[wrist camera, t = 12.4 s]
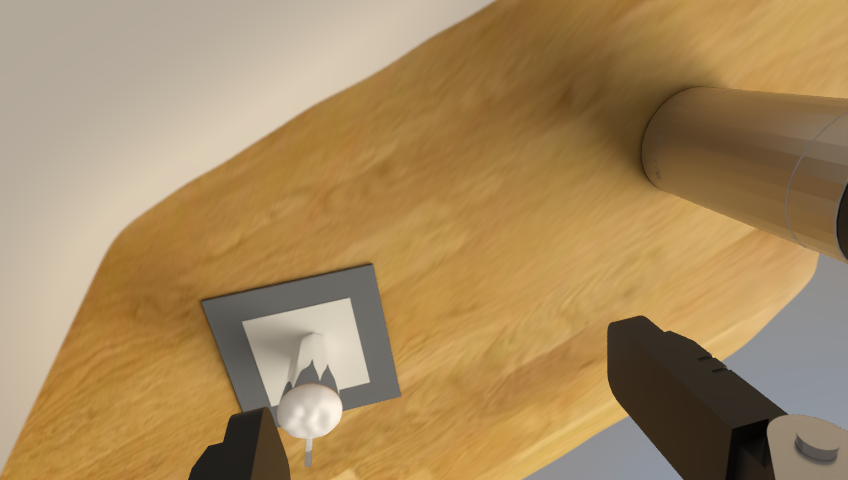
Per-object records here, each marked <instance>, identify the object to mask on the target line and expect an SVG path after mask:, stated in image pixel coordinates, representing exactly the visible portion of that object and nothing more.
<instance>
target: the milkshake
mask: <svg viewBox="0 0 848 480" xmlns="http://www.w3.org/2000/svg"><path fill="white" fill-rule="evenodd" d="M341 415H342V402H341V397H340V392H339V387H338V382H337V376H336V369H335V362H334V355H333V349H332V344H331V343H330V342H329V340H328V339H327V338H326V336H323V335H320V334H316V333H312V334H308V335H304V336H302V337H301V338H300V339H299V340H298V341H297V342H296V344H295V345H294V349H293V353H292V357H291V361H290V366H289V370H288V374H287V378H286V382H285V385H284V389H283V392H282V395H281V399H280V402H279V405H278V409H277V419H278V423H279V425H280V426H281V427H282V428H283V429H284V430H285V431H286V432H287V433H288V434H289V435H291V436H293V437H297V438H305V439H306V446H305V467H311V464H312V439H313V438H316V437H321V436H324V435H326V434H327V433H329V432H330V431H331V430H332V429H333V428H334V427H335V426H336V425H337V424H338V422H339V421H340V418H341Z"/></svg>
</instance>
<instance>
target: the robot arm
mask: <svg viewBox="0 0 848 480" xmlns="http://www.w3.org/2000/svg"><path fill="white" fill-rule="evenodd" d="M641 153H642V164H643V167H644V170H645V173H646V175H647V176H648V178H649V180H650V181H651V182H652V183H653V184H654V185H655V186H656V187H658V188H660V189H662V190H663V191H666V192H668V193H671V194H673V195H676V196H678V197H681V198H683V199H686V200H688V201H691V202H693V203H695V204H697V205H700V206H703V207H705V208H708V209H710V210H713V211H715V212H718V213H720V214H723V215H725V216H728V217H730V218H733V219H735V220H738V221H740V222H743V223H745V224H748V225H750V226H753V227H755V228H758V229H760V230H763V231H765V232H768V233H770V234H773V235H775V236H778V237H780V238H783V239H785V240H788V241H791V242H793V243H796V244H798V245H801V246H803V247H806V248H808V249H811V250H813V251H816V252H819V253H821V254H824V255H826V256H829V257H832V258H834V259H836V260H839V261H841V262H844V263H846V264H848V99H844V98H832V97H820V96H808V95H796V94H784V93H772V92H760V91H748V90H738V89H724V88H711V87H695V88H689V89H686V90H684V91H682V92H679V93H677V94H676V95H674V96H673V97H671V98H670V99H668V100H667V101H666V102H665V103H664V104H663V105H662V106H661V107H660V108H659V109H658V111H657V112H656V113H655V115H654V116H653V117H652V119H651V121H650V123H649V125H648V127H647V129H646V132H645V135H644V138H643V143H642V151H641ZM607 374H608V381H609V385H610V388H611V390H612V393H613V395H614V396H615V398H616V400H617V401H618V402H619V404H620V405H621V406H622V407H623V408H624V410H625V411H626V412H627V413H628V414H629V415H630V416H631V418H632V419H633V420H634V421H635V423H636V424H637V425H638V426H639V427H640V428H641V430H642V431H643V432H644V433H645V435H646V436H647V437H648V438H649V439H650V440H651V442H652V443H653V444H654V445H655V446H656V448H657V449H658V450H659V451H660V452H661V454H662V455H663V456H664V457H665V458H666V459H667V461H668V462H669V463H670V464H671V465H672V467H673V468H674V469H675V470H676V471H677V473H678V474H679V475H680V476H681V477H682V478H683V480H848V431H846V430H844V429H843V428H841V427H839V426H837V425H835V424H833V423H830V422H828V421H825V420H822V419H819V418H816V417H811V416H806V415H788V414H787V413H786V412H784V411H783V410H782V409H781V408H779V407H778V406H777V405H776V404H774V403H773V402H771V401H770V400H769V399H768V398H766V397H765V396H764V395H763V394H761V393H760V392H759V391H758V390H756V389H755V388H754V387H752V386H751V385H750V384H749V383H747V382H746V381H745V380H743V379H742V378H741V377H739V376H738V375H737V374H736V373H734V372H733V371H732V370H728V369H727V366H725V365H724V364H723V363H722V362H720V361H719V360H718V359H716V358H713V357H712V355H711V354H710V353H709V352H707V351H706V350H705V349H704V348H702V347H701V346H700V345H698V344H697V343H696V342H694V341H693V340H691V339H688V338H686V337H684V336H681V335H679V334H677V333H674V332H672V331H667V332H663V331H662V330H661V329H660V328H659V327H657V326H656V325H655V324H654V323H653V322H651V321H650V320H649V319H648V318H646V317H644V316H636V317H632V318H628V319H624V320H620V321H616V322H612V323H610V324H609V326H608V332H607ZM188 480H291V479H290V469H289V464H288V459H287V456H286V453H285V450H284V447H283V444H282V442H281V439H280V436H279V433H278V430H277V427H276V425H275V422H274V419H273V416H272V413H271V411H270V409H269V408H268V407H262V408H258V409H254V410H250V411H246V412H242V413H238V414H234V415H232V416H231V417H230V419H229V422H228V426H227V429H226V433H225V437H224V441H223V442H222V443H218V444H214V445H211V446H208V447H207V449H206V450H205V451H204V453H203V454H202V455H201V457H200V458H199V460H198V461H197V462H196V464H195V465H194V466H193V468H192V470H191V473H190V476H189V479H188Z"/></svg>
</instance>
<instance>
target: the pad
mask: <svg viewBox="0 0 848 480" xmlns="http://www.w3.org/2000/svg"><path fill="white" fill-rule="evenodd" d="M201 303H202V305H203V308H204V311H205V313H206V316H207V319H208V321H209V324H210V326H211V329H212V332H213V334H214V337H215V340H216V342H217V345H218V348H219V350H220V353H221V355H222V358H223V361H224V363H225V366H226V369H227V371H228V374H229V376H230V379H231V382H232V384H233V387H234V390H235V392H236V395H237V398H238V400H239V403H240V405H241V408H242V411H243V412H246V411H250V410H254V409H258V408H262V407H268V408H269V409H270V411H271V413H272V416H273V419H274V422H275V425H276V427H281V426H280V425H279V423H278V419H277V409H278V405H279V402H280V399H281V395H282V392H283V389H284V385H285V382H286V378H287V374H288V370H289V366H290V361H291V357H292V353H293V349H294V345H295V344H296V342H297V341H298V340H299V339H300V338H301V337H302V336H304V335H308V334H312V333H316V334H320V335H323V336H326V338H327V339H328V340H329V342H330V343H331V344H332V349H333V355H334V362H335V369H336V376H337V382H338V387H339V392H340V397H341V402H342V411H345V410H349V409H353V408H357V407H361V406H365V405H369V404H373V403H377V402H381V401H385V400H389V399H392V398H396V397H400V396H401V394H400V390H399V385H398V380H397V376H396V371H395V366H394V361H393V357H392V352H391V347H390V343H389V338H388V333H387V328H386V324H385V319H384V314H383V310H382V305H381V300H380V295H379V291H378V286H377V281H376V277H375V272H374V267H373V264H368V265H363V266H359V267H354V268H349V269H345V270H340V271H336V272H331V273H326V274H322V275H317V276H313V277H308V278H303V279H299V280H294V281H289V282H285V283H280V284H276V285H271V286H266V287H262V288H257V289H253V290H248V291H243V292H239V293H234V294H229V295H225V296H220V297H216V298H211V299H206V300H202V302H201Z"/></svg>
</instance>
